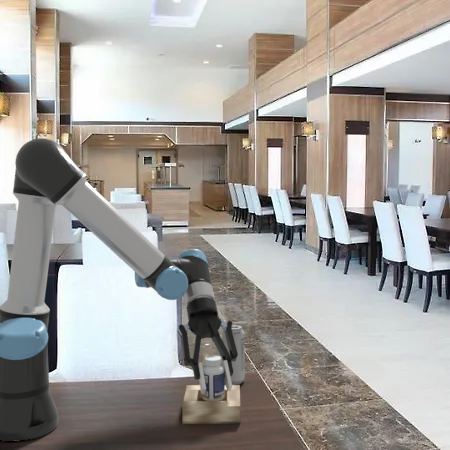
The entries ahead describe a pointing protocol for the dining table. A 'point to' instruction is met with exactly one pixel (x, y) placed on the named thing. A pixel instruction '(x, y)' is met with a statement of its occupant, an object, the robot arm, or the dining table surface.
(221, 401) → the socket block
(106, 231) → the robot arm
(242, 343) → the energy drink can
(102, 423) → the dining table surface
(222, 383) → the pill bottle
